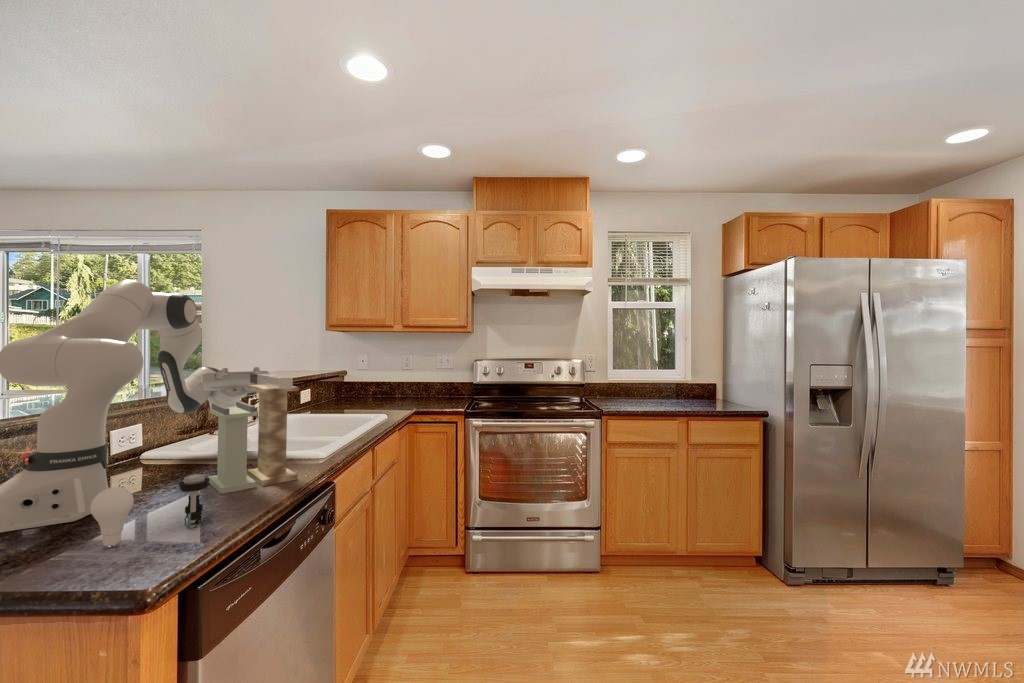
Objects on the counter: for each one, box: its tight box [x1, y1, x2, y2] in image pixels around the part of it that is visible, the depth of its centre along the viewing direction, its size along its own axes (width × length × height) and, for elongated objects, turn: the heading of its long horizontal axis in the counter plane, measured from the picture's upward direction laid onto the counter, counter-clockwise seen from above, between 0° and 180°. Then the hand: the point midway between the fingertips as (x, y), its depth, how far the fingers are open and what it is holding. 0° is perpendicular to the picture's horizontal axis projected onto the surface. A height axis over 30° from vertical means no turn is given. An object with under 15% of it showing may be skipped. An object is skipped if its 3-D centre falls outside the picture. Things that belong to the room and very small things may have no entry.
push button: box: [178, 473, 210, 529], centre depth 95 cm, size 7×5×10 cm
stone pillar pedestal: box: [247, 385, 300, 487], centre depth 129 cm, size 9×14×26 cm, turn 45°
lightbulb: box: [90, 486, 135, 547], centre depth 84 cm, size 6×6×11 cm
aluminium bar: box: [250, 373, 294, 389], centre depth 131 cm, size 4×26×3 cm, turn 45°
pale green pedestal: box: [207, 400, 258, 495], centre depth 122 cm, size 8×14×22 cm, turn 45°
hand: (241, 369), depth 151 cm, fingers open, 8 cm apart
